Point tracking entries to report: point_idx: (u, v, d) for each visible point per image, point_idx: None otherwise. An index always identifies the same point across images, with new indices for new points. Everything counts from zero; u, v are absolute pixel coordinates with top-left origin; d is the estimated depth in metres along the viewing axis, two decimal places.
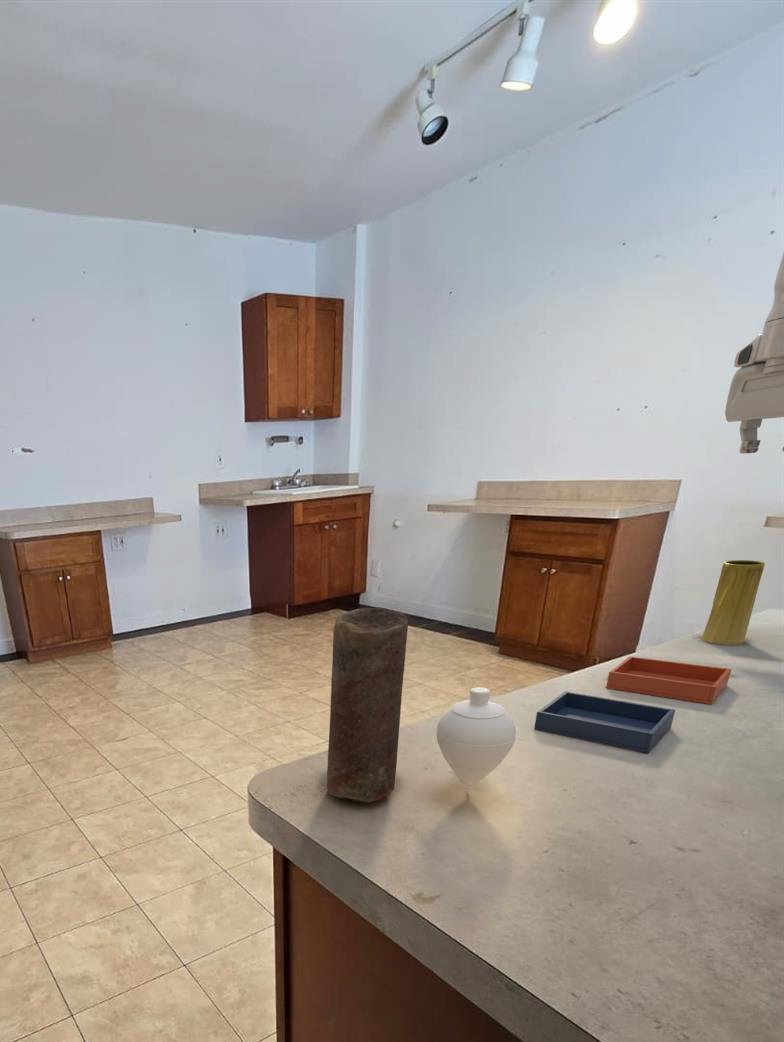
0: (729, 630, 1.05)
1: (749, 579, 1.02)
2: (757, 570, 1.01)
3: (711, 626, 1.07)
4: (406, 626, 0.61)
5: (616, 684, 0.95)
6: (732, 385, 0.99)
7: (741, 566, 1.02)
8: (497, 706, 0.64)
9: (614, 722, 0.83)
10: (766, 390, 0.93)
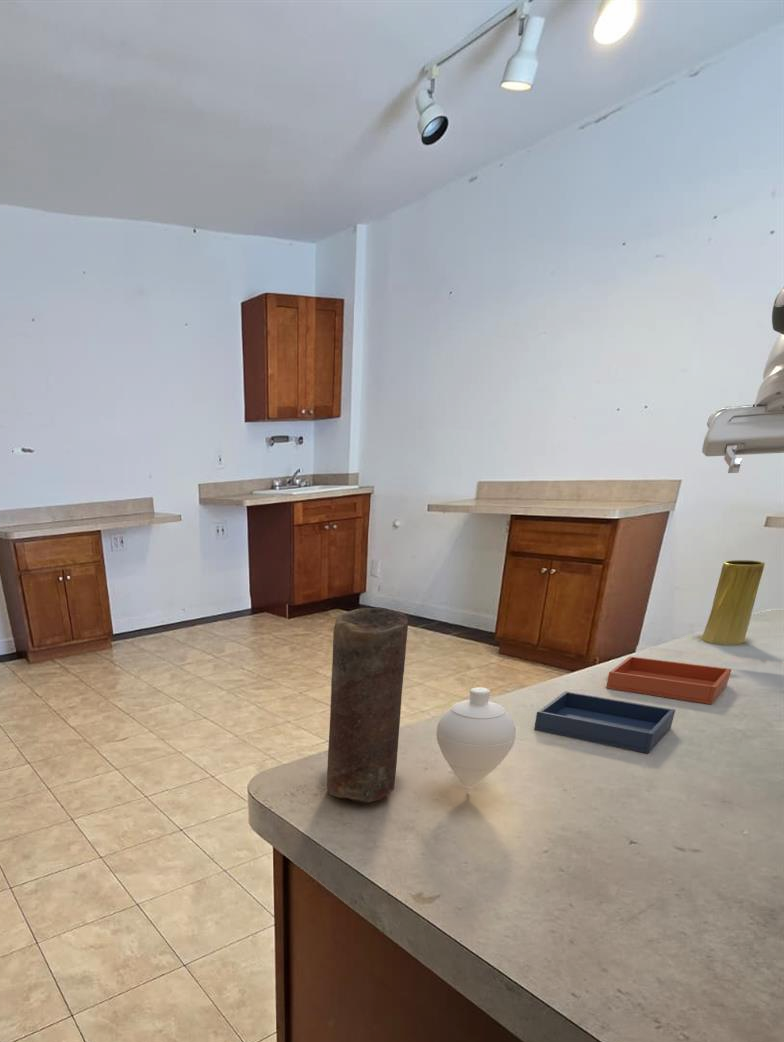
0: (729, 630, 1.05)
1: (749, 579, 1.02)
2: (757, 570, 1.01)
3: (711, 626, 1.07)
4: (406, 626, 0.61)
5: (616, 684, 0.95)
6: None
7: (741, 566, 1.02)
8: (497, 706, 0.64)
9: (614, 722, 0.83)
10: None
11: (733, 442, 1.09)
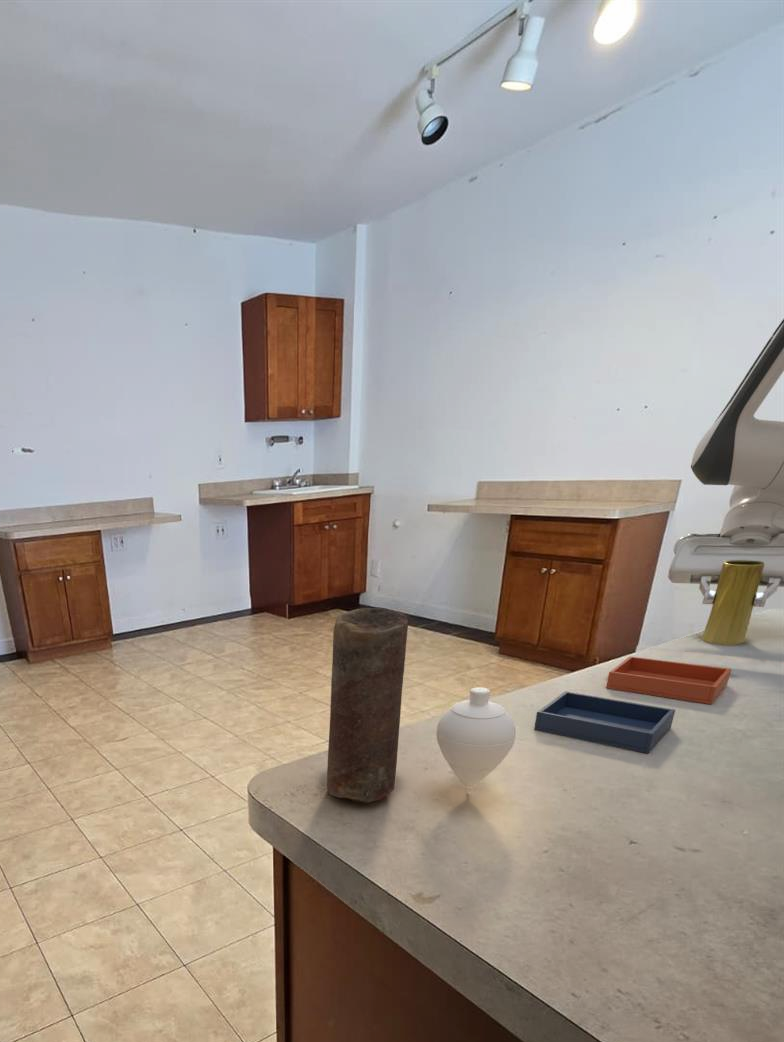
0: (729, 630, 1.05)
1: (749, 579, 1.02)
2: (757, 570, 1.01)
3: (711, 626, 1.07)
4: (406, 626, 0.61)
5: (616, 684, 0.95)
6: None
7: (741, 566, 1.02)
8: (497, 706, 0.64)
9: (614, 722, 0.83)
10: None
11: (698, 573, 1.09)
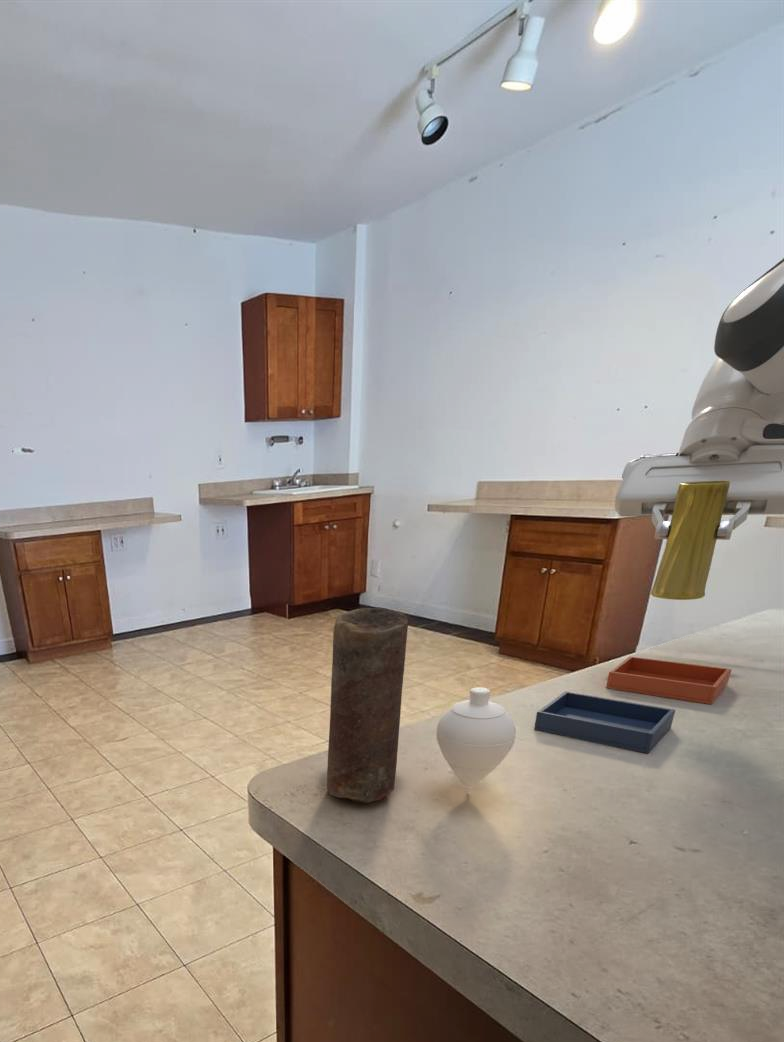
0: (686, 570, 0.84)
1: (710, 503, 0.80)
2: (720, 490, 0.79)
3: (665, 566, 0.85)
4: (406, 626, 0.61)
5: (616, 684, 0.95)
6: None
7: (700, 485, 0.80)
8: (497, 706, 0.64)
9: (614, 722, 0.83)
10: None
11: (649, 501, 0.87)
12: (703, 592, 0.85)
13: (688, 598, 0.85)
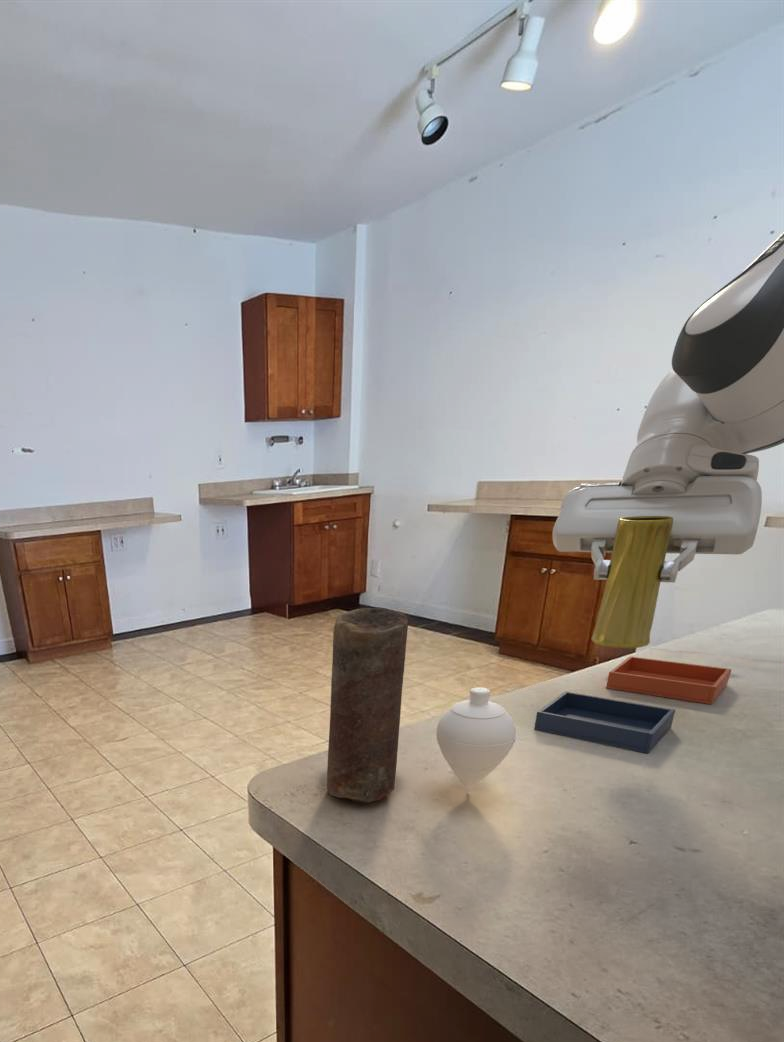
0: (627, 616, 0.74)
1: (651, 542, 0.71)
2: (662, 528, 0.70)
3: (605, 610, 0.76)
4: (406, 626, 0.61)
5: (616, 684, 0.95)
6: None
7: (639, 523, 0.70)
8: (497, 706, 0.64)
9: (614, 722, 0.83)
10: None
11: (588, 536, 0.77)
12: (647, 640, 0.76)
13: (631, 647, 0.75)
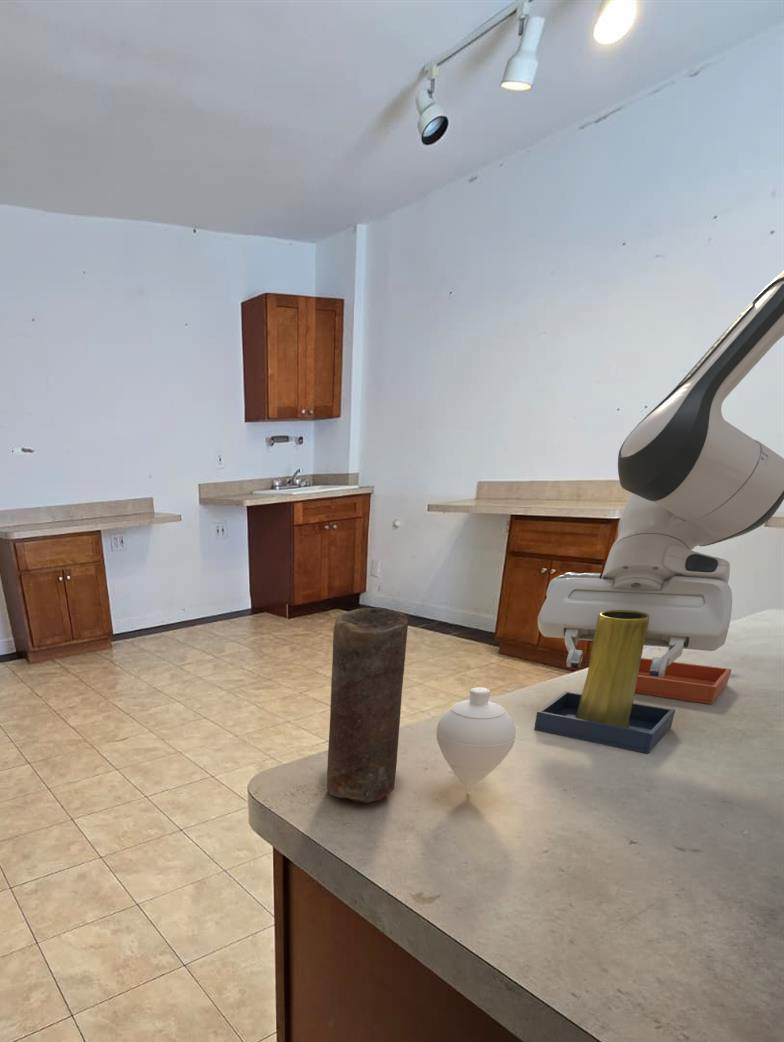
0: (607, 704, 0.79)
1: (629, 638, 0.75)
2: (639, 626, 0.75)
3: (586, 697, 0.80)
4: (406, 626, 0.61)
5: None
6: None
7: (617, 620, 0.75)
8: (497, 706, 0.64)
9: None
10: None
11: (571, 627, 0.82)
12: (626, 725, 0.80)
13: None
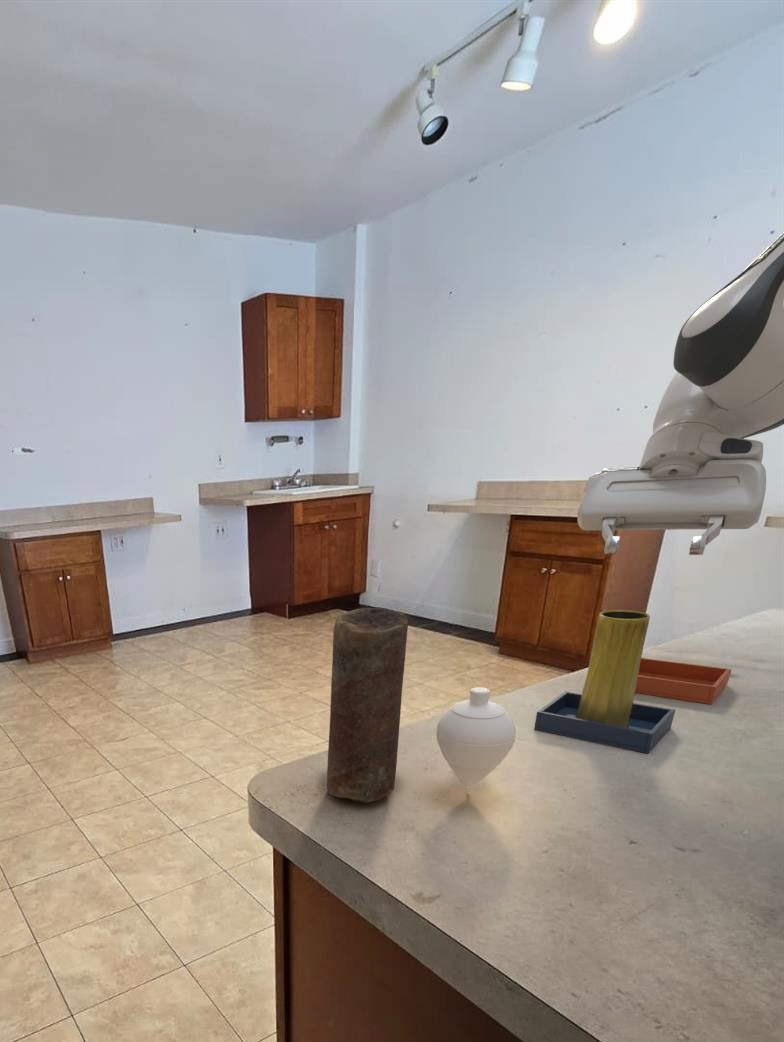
0: (607, 704, 0.79)
1: (629, 638, 0.75)
2: (639, 626, 0.75)
3: (586, 697, 0.80)
4: (406, 626, 0.61)
5: None
6: None
7: (618, 620, 0.75)
8: (497, 706, 0.64)
9: None
10: None
11: (610, 515, 0.87)
12: (626, 725, 0.80)
13: None
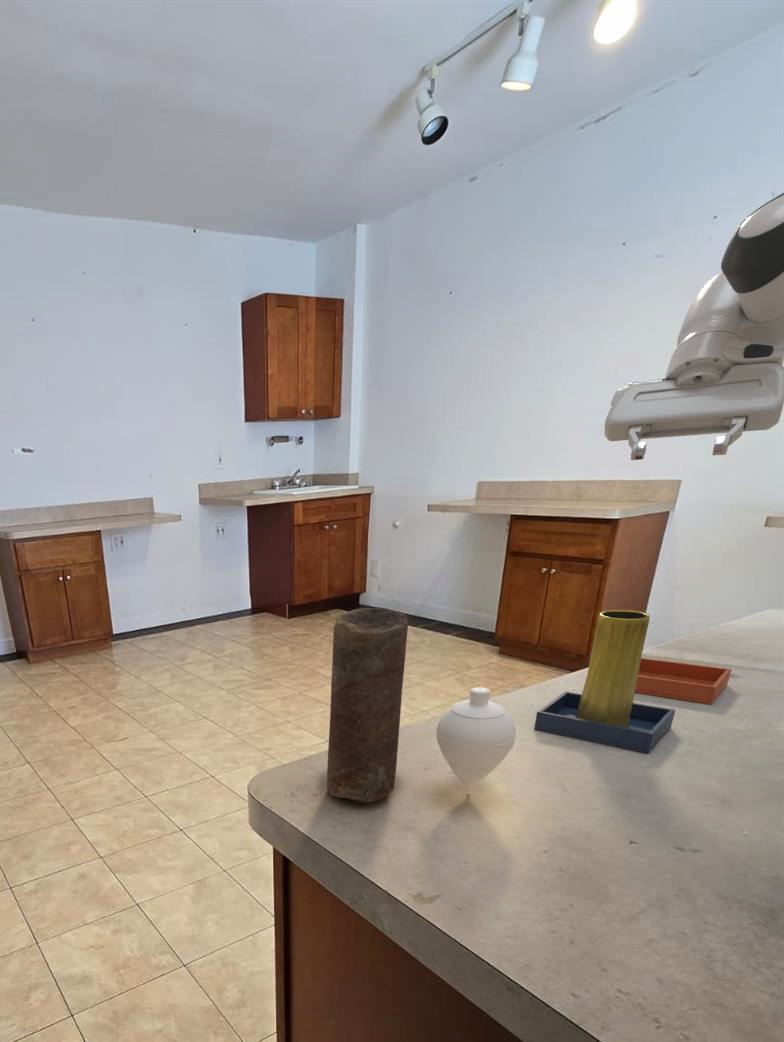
0: (607, 704, 0.79)
1: (629, 638, 0.75)
2: (639, 626, 0.75)
3: (586, 697, 0.80)
4: (406, 626, 0.61)
5: None
6: None
7: (618, 620, 0.75)
8: (497, 706, 0.64)
9: None
10: None
11: (637, 423, 0.91)
12: (626, 725, 0.80)
13: None
